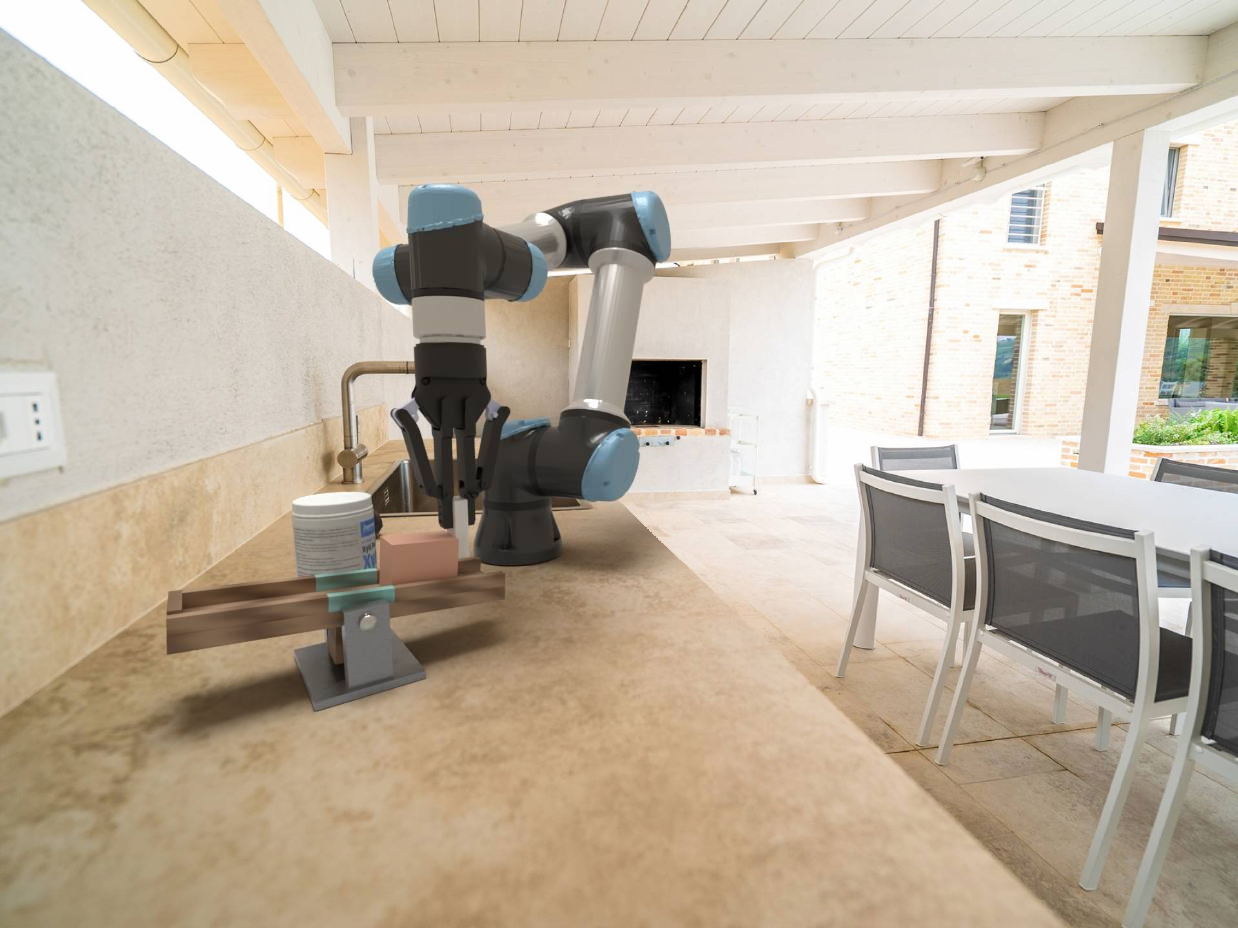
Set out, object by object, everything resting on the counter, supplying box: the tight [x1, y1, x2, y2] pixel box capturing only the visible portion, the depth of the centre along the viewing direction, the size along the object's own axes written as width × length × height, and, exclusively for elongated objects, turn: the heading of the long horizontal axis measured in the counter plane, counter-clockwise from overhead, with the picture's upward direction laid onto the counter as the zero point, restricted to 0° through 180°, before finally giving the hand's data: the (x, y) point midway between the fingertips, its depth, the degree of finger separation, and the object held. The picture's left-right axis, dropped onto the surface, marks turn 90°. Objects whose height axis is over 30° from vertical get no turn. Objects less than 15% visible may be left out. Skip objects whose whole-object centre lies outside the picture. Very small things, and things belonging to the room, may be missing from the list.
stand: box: [293, 598, 427, 712], centre depth 60 cm, size 10×13×8 cm
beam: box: [165, 556, 506, 665], centre depth 59 cm, size 30×8×8 cm, turn 126°
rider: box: [379, 530, 459, 587], centre depth 63 cm, size 7×4×6 cm, turn 127°
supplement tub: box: [291, 491, 378, 577], centre depth 76 cm, size 10×10×15 cm
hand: (458, 554), depth 65 cm, fingers closed
